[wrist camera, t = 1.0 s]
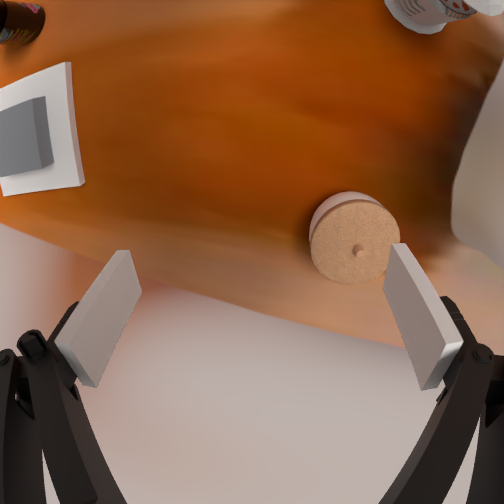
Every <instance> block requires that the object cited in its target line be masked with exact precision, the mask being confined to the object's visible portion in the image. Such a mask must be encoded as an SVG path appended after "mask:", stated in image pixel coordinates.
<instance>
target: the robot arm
mask: <svg viewBox="0 0 504 504" xmlns="http://www.w3.org/2000/svg"><path fill="white" fill-rule="evenodd" d="M383 291H384V293H385V295H386V298H387V300H388V302H389V305H390V307H391V310H392V312H393V315H394V317H395V320H396V322H397V325H398V327H399V330H400V332H401V335H402V338H403V340H404V343H405V345H406V348H407V351H408V354H409V356H410V359H411V362H412V365H413V368H414V371H415V373H416V376H417V379H418V382H419V385H420V388H421V391H422V390H427V389H432V388H437V387H438V385H439V384H440V382H441V380H442V379H443V380H444V383H445V388H444V389H443V391H442V393H441V394H440V395H439V397H438V398H437V400H436V401H437V404H436V407H435V409H434V411H433V413H432V415H431V417H430V419H429V421H428V423H427V425H426V427H425V429H424V431H423V433H422V435H421V437H420V438H419V440H418V442H417V444H416V446H415V447H414V449H413V451H412V453H411V455H410V456H409V458H408V459H407V461H406V463H405V465H404V466H403V468H402V469H401V471H400V473H399V474H398V476H397V477H396V479H395V480H394V482H393V483H392V485H391V486H390V488H389V489H388V491H387V492H386V494H385V495H384V497H383V498H382V499H381V501H380V502H379V504H442V503H443V501H444V499H445V497H446V495H447V493H448V491H449V489H450V487H451V485H452V483H453V481H454V479H455V477H456V475H457V473H458V471H459V469H460V466H461V464H462V462H463V459H464V457H465V455H466V452H467V450H468V447H469V445H470V442H471V440H472V437H473V434H474V432H475V429H476V426H477V423H478V420H479V417H480V427H479V436H478V444H477V451H476V457H475V463H474V469H473V474H472V479H471V485H470V489H469V493H468V498H467V501H466V504H504V356H500V355H494V354H493V352H492V350H491V349H490V348H489V347H487V346H486V345H484V344H480V343H477V341H476V339H475V337H474V335H473V333H472V332H471V330H470V328H469V326H468V324H467V323H466V321H465V320H464V318H463V316H462V314H461V313H460V311H459V309H458V307H457V306H456V304H455V303H454V302H453V301H452V300H451V299H450V298H448V297H447V296H442V297H439V296H438V294H437V292H436V291H435V289H434V287H433V286H432V284H431V282H430V281H429V279H428V278H427V276H426V274H425V273H424V271H423V270H422V268H421V266H420V265H419V263H418V262H417V260H416V259H415V257H414V256H413V254H412V253H411V251H410V250H409V248H408V247H407V245H406V244H405V243H400V244H392V245H391V250H390V255H389V261H388V266H387V271H386V275H385V280H384V285H383ZM141 294H142V290H141V287H140V284H139V281H138V277H137V274H136V271H135V268H134V264H133V261H132V257H131V254H130V250H117V251H116V252H115V253H114V255H113V256H112V257H111V259H110V260H109V261H108V263H107V264H106V265H105V267H104V268H103V270H102V271H101V272H100V274H99V275H98V277H97V278H96V279H95V281H94V282H93V284H92V285H91V286H90V288H89V289H88V291H87V292H86V293H85V295H84V296H83V298H82V299H81V301H80V302H75V303H74V304H73V305H72V306H71V307H69V308H68V310H67V311H66V313H65V314H64V316H63V317H62V319H61V320H60V322H59V324H58V325H57V326H56V328H55V329H54V331H53V332H52V334H51V335H50V337H49V339H48V340H47V342H46V340H45V338H44V337H43V335H42V333H41V332H40V331H39V330H30V331H27V332H26V333H24V334H23V335H22V336H21V337H20V338H19V340H18V342H17V348H18V349H19V350H20V352H21V354H22V355H23V356H18V357H17V356H16V355H15V353H14V352H13V350H11V349H4V350H2V351H0V504H47V503H46V495H45V487H44V475H43V461H42V449H43V453H44V457H45V460H46V464H47V467H48V470H49V473H50V477H51V480H52V483H53V485H54V488H55V491H56V494H57V496H58V499H59V502H60V504H127V503H126V501H125V499H124V497H123V495H122V493H121V492H120V490H119V488H118V486H117V484H116V482H115V480H114V478H113V476H112V474H111V472H110V470H109V467H108V465H107V463H106V461H105V459H104V457H103V454H102V452H101V450H100V447H99V445H98V443H97V440H96V438H95V435H94V433H93V430H92V428H91V425H90V423H89V420H88V417H87V415H86V412H85V409H84V407H83V403H82V401H81V397H80V394H79V391H78V388H77V386H76V385H75V383H74V382H75V380H76V378H77V377H78V379H79V380H80V382H81V383H82V384H83V385H85V386H90V387H95V388H97V387H98V384H99V382H100V380H101V377H102V375H103V373H104V371H105V368H106V366H107V364H108V362H109V360H110V357H111V355H112V353H113V351H114V348H115V347H116V344H117V342H118V340H119V338H120V336H121V334H122V332H123V330H124V328H125V326H126V324H127V321H128V320H129V318H130V316H131V314H132V311H133V309H134V308H135V305H136V303H137V301H138V300H139V297H140V296H141ZM15 394H16V395H17V397H16V399H15ZM480 414H481V415H480Z"/></svg>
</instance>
